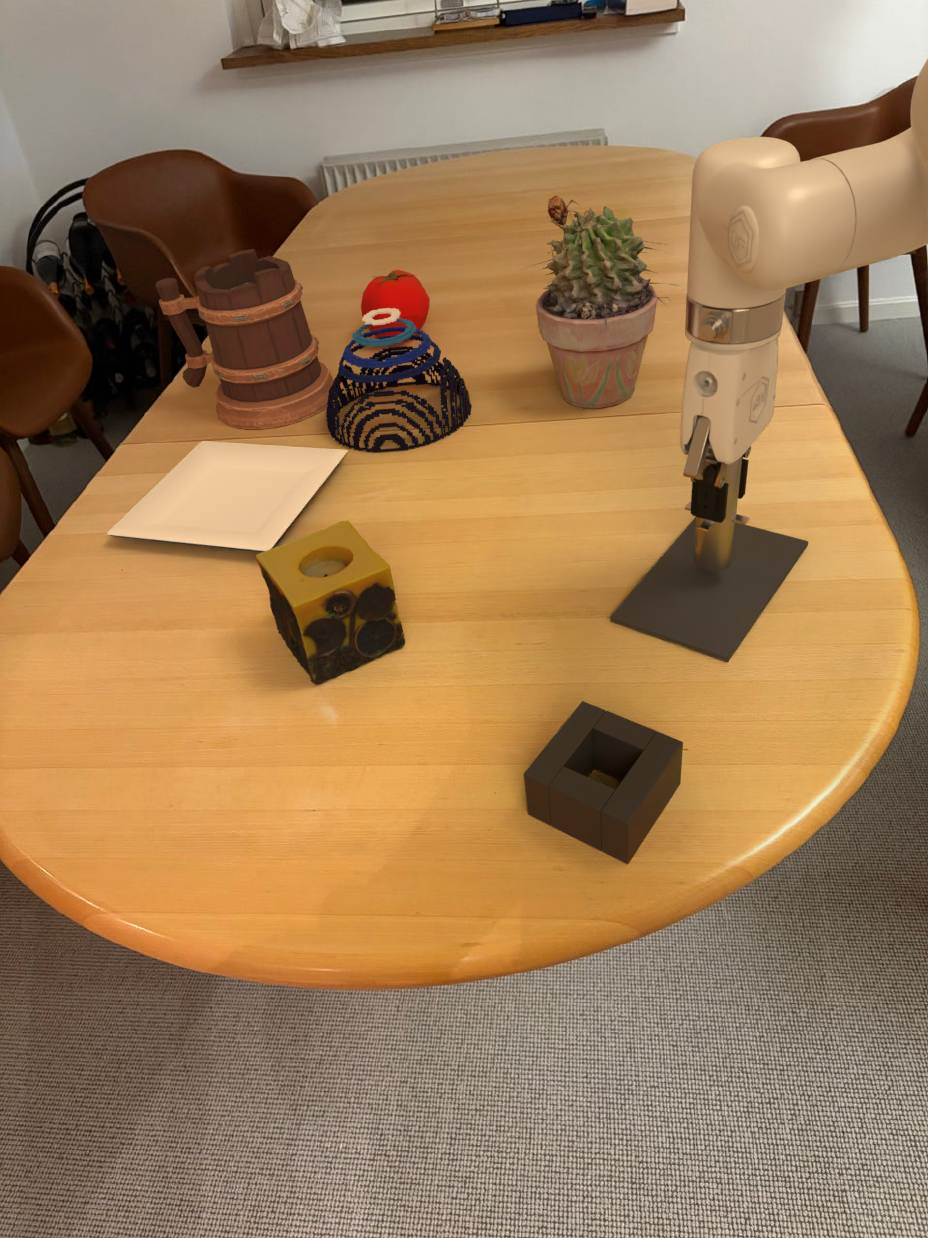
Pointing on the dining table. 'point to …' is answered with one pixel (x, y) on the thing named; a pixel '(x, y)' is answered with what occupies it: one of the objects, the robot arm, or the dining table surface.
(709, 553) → the bronze metal rod
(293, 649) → the candle
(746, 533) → the mat
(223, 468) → the plate
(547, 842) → the dining table surface
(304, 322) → the mug
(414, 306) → the tomato
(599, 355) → the potted plant
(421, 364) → the decorative bowl
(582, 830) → the dark square ring block
